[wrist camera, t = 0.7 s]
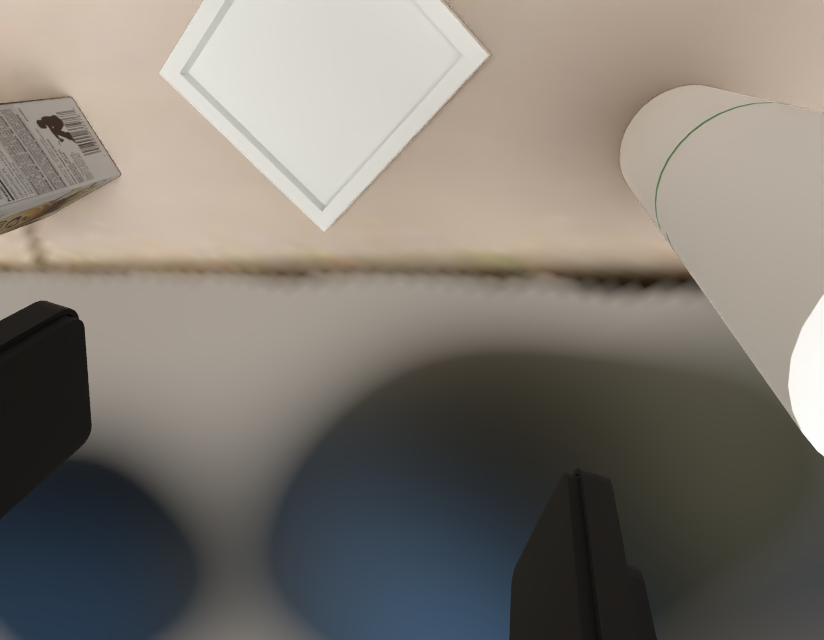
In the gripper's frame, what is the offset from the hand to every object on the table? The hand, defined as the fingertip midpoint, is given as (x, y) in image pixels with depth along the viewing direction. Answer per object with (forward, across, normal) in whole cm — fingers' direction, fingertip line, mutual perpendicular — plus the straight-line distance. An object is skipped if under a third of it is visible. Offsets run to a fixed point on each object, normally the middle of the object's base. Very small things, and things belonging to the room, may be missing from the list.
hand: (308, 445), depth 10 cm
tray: (+29, +10, -3) cm, 31 cm away
